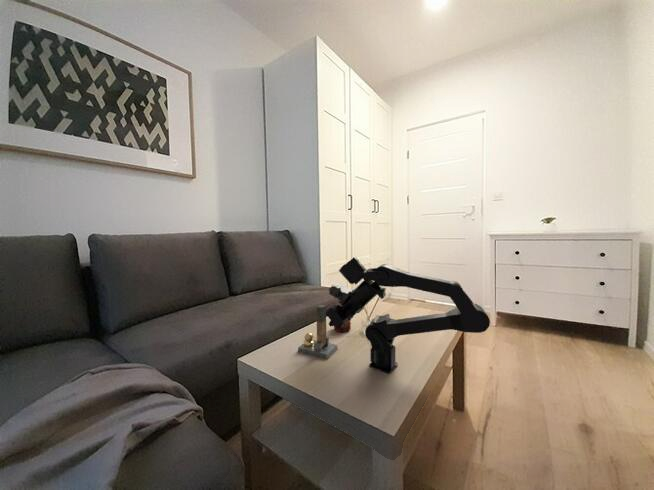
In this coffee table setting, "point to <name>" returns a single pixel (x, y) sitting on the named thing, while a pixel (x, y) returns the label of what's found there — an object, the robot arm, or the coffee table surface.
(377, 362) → the robot arm
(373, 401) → the coffee table surface
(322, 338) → the lever
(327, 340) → the base
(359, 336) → the coffee table surface
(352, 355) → the coffee table surface
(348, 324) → the decorative doll
